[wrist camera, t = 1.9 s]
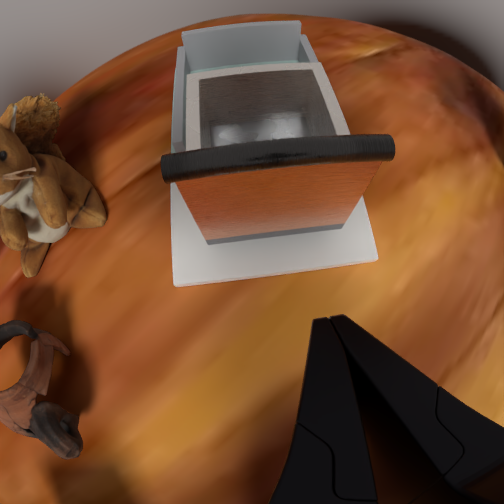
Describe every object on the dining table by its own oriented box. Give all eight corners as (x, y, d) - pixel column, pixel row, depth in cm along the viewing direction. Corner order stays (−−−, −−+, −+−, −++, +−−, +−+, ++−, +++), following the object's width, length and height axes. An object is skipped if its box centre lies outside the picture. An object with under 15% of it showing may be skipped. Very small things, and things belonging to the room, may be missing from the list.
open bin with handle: (341, 238, 22) (398, 151, 11) (207, 254, 22) (160, 174, 11) (312, 128, 25) (331, 23, 14) (200, 140, 25) (171, 36, 14)
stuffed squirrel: (31, 288, 22) (-78, 243, 10) (21, 174, 26) (-48, 110, 14) (115, 241, 23) (13, 155, 11) (90, 130, 27) (31, 42, 15)
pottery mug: (9, 405, 20) (-44, 361, 14) (63, 345, 25) (20, 291, 20) (79, 493, 15) (12, 473, 9) (143, 417, 21) (97, 373, 15)
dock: (375, 261, 22) (406, 235, 17) (176, 287, 22) (149, 267, 16) (310, 60, 29) (315, 20, 23) (176, 74, 29) (165, 34, 23)
